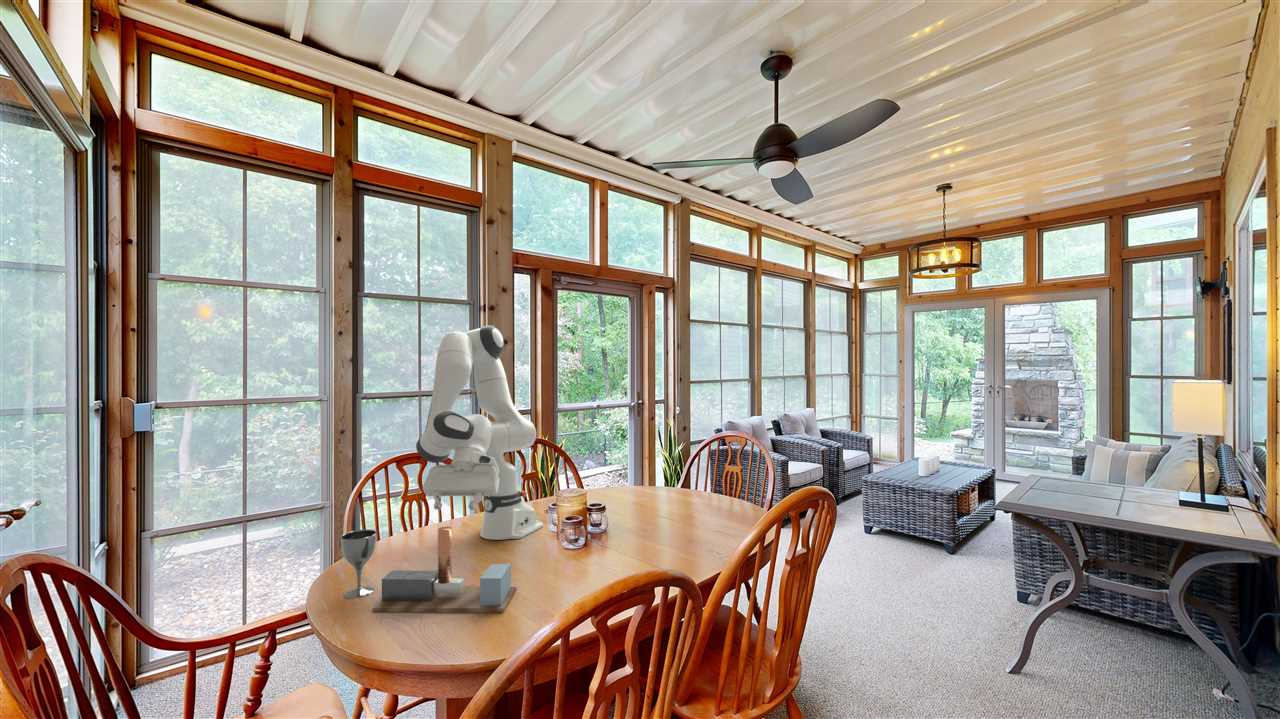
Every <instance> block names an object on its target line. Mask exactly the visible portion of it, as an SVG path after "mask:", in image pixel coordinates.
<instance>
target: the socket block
mask: <svg viewBox="0 0 1280 719" xmlns="http://www.w3.org/2000/svg"><path fill="white" fill-rule="evenodd" d="M511 570H512V568H511V563H491V564H490V565H489V566H488V568H486V570H485V571H484V573H483V574H482V575H481V577H480V578H479V581H480V582H479V586H480V605H501V604H502V603H503V601H504V599H505V598H506V596H507V594H508V593H509V591H510V589H511V587H512V585H511V581H512V580H511V579H512V578H511V575H512V574H511Z"/></svg>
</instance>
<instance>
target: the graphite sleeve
mask: <svg viewBox="0 0 1280 719" xmlns="http://www.w3.org/2000/svg"><path fill="white" fill-rule="evenodd" d="M435 578H438V570H406V569H405V570H402V569H399V570H396V569H395V570H391V571H390V572H389V573H387V574H386V575H385V576H384V577H383V578H381V600H382V601H413V602H430V601H431V600H432V599H433V598H434V597H435V596H436V595H437V594H438V593H432V581H433V580H434V579H435Z"/></svg>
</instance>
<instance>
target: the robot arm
mask: <svg viewBox="0 0 1280 719" xmlns="http://www.w3.org/2000/svg"><path fill="white" fill-rule="evenodd" d="M504 343H505V341H504V338H503V334H502V332H501V331H500V330H499V328H497V327H495V325H483V326H481V327H478V328H475V329H474V328H473V329H472V330H471V329H470V330H468V331H466V332H462V331H458V330H457V331H451V332H448V333H447V334H445V335H444V336H443V338H442V340H441V342H440V344H439V347H438V349H437V354H436V359H435V360H436V361H435V370H434V379H433V380H434V381H433V386H432V387H433V388H432V398H431V403H430V406H429V412H428V417H427V421H426V426H425V429H424V432H423V433H422V434H421V435H420V437H419V438H418V440H417V441H416V445H415V446H416V451H417V454H418V455H419V456H420V457H421V459H423V460H425V461H426V462H429V463H433V464H436V465H435V466H433V467H431V468H430V469H429V472H428V473H427V474H428V475H427V477H426V478H425V480H424V482H423V485H422V490H423V492H424V494H425V495H426V496H428V497H433V499H434V500H433V501H434V504H433V509H434V510H440V511H441V510H442V507H443V505H444V504H443V503H442V501H441V500H440V499H442V497H475V498H473V500H469V504H468V508H469V510H471V511H473V510H474V511H475V510H476V509H477V506H478V505H479V503H480V502H481V501H482V500H483V507H484V510H483V519H482V524H481V529H480V533H479V535H480V537H481V538H483V539H485V540H486V539H487V540H493V541H495V540H496V541H497V540H498V541H499V540H501V541H502V540H510V539H515V540H516V539H517V540H518V539H522V538H524V537H526V536H528V535H529V534H531V533H533V532H536V531H537V530H539V529H541V528H542V527H544V523H543V522H542V521H540V520H538V519H537V513H536V511H535V508H534V507H532V506H530V505H529V504H527V503H526V502H524V501H523V499H522V497H523V498H526V497H527V496H528V492H527V491H526V490H525V491H524V490H521V491H519V488H518V487H519V483H518V482H519V480H518V479H519V473H518V472H519V471H518V469H517V467H516V466H515V465H513V464H512V463H510V462H508V461H506V460H505V457H504V454H505V453H508V452H517V451H521V450H525V449H527V448H529V447H531V446H533V445H534V443H535V441H536V439H537V430H536V426H535V425H534V423H533V422H532V421H531V420H529V419H527V418H526V417H524V416H523V415H522V414H521V413H520V412H519V410H518V409H517V408H516V406H515V404H514V403H513V399H512V397H511V392H510V389H509V385H508V384H509V383H508V379H507V374H506V371H505V369H504V366H503V363H502V360H501V357H502V356H501V355H502V352H503V350H504ZM472 370H473V379H474V387H475V391H476V393H475V394H476V397H477V401H478V407H479V408H480V409H481V411H483V412H485V414H488V415H490V416H492V417H493V420H495V421H490V419H489V418H487V417H486V416H484V414H479V413H478V414H477V413H473V414H467V415H463V414H460V413H456V412H454V411H452V410H453V407H454V404H455V402H456V400H457V398H458V397H459V395H460V394H461V392H462V391H463V389H464V388H465V387H466V385H467V384H468V382H469V379H470V377H471V373H472ZM452 451H454V454H453V457H452V460H451V463H450V464H438V463H442V462H445V461H446V460H447V459H448V458H449V456H450V454H451V453H453V452H452Z"/></svg>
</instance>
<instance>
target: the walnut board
mask: <svg viewBox="0 0 1280 719" xmlns="http://www.w3.org/2000/svg"><path fill="white" fill-rule="evenodd" d="M515 591H517V586H511V589H510V591H509V593H508V594H507V596H506V598H505V599H504V601H503V603H502V604H501V605H480V585H479V586H475V585H473V586H471V585H470V586H467V585H466V586H465V589H464V590H463V591H462V593H438V594H437V595H436V596H435V597H434V598H433V599H432V600H431V601H430V602H413V601H382V599H380V600H379V601H378V602H377V603H376V604H374V606H373V607H372V613H478V612H499V613H500V612H501V613H500V614H503V613H502V612H504V613H505V612H506V610H507V608H508V606H509V604H510V603H511V601H510V600H512V599H513V597H514V595H515V594H516V592H515ZM514 593H515V594H514ZM511 598H512V599H511ZM506 607H507V608H506ZM499 613H498V614H499Z"/></svg>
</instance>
